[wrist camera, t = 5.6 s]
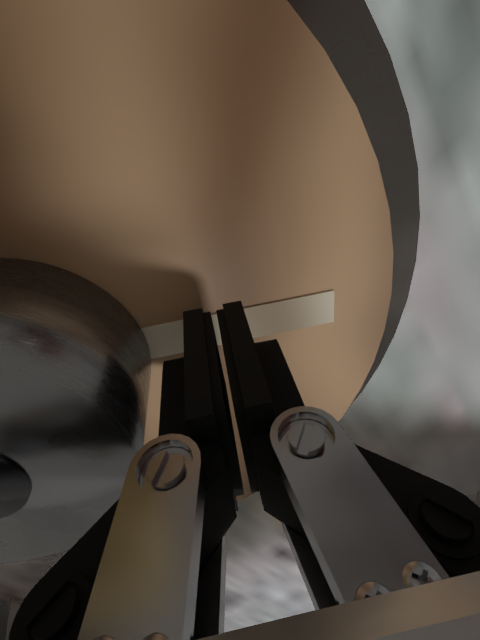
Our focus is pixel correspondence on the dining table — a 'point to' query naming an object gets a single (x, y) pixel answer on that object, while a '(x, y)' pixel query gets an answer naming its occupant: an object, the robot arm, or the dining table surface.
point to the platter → (198, 178)
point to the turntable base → (375, 129)
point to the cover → (64, 406)
